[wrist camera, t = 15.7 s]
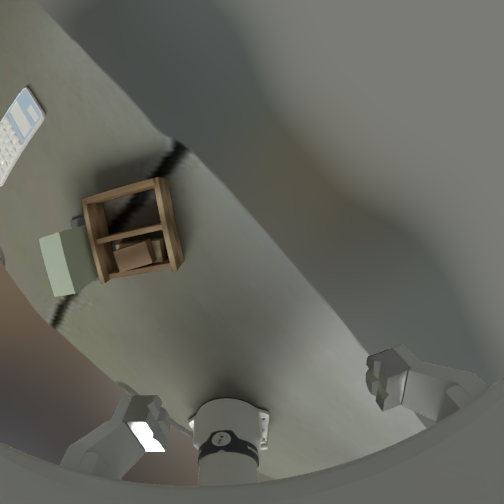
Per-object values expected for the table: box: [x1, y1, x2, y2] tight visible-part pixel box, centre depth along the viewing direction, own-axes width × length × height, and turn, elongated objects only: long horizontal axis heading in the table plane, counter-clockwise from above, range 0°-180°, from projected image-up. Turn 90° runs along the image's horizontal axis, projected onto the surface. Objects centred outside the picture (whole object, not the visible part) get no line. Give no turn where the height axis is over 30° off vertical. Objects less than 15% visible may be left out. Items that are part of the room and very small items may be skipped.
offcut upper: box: [113, 239, 156, 273], centre depth 41 cm, size 4×6×2 cm, turn 105°
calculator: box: [0, 87, 45, 186], centre depth 36 cm, size 13×20×2 cm, turn 131°
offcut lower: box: [116, 238, 166, 263], centre depth 43 cm, size 4×8×3 cm, turn 94°
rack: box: [81, 177, 184, 284], centre depth 41 cm, size 14×14×6 cm
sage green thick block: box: [39, 225, 99, 297], centre depth 37 cm, size 4×9×12 cm, turn 10°
